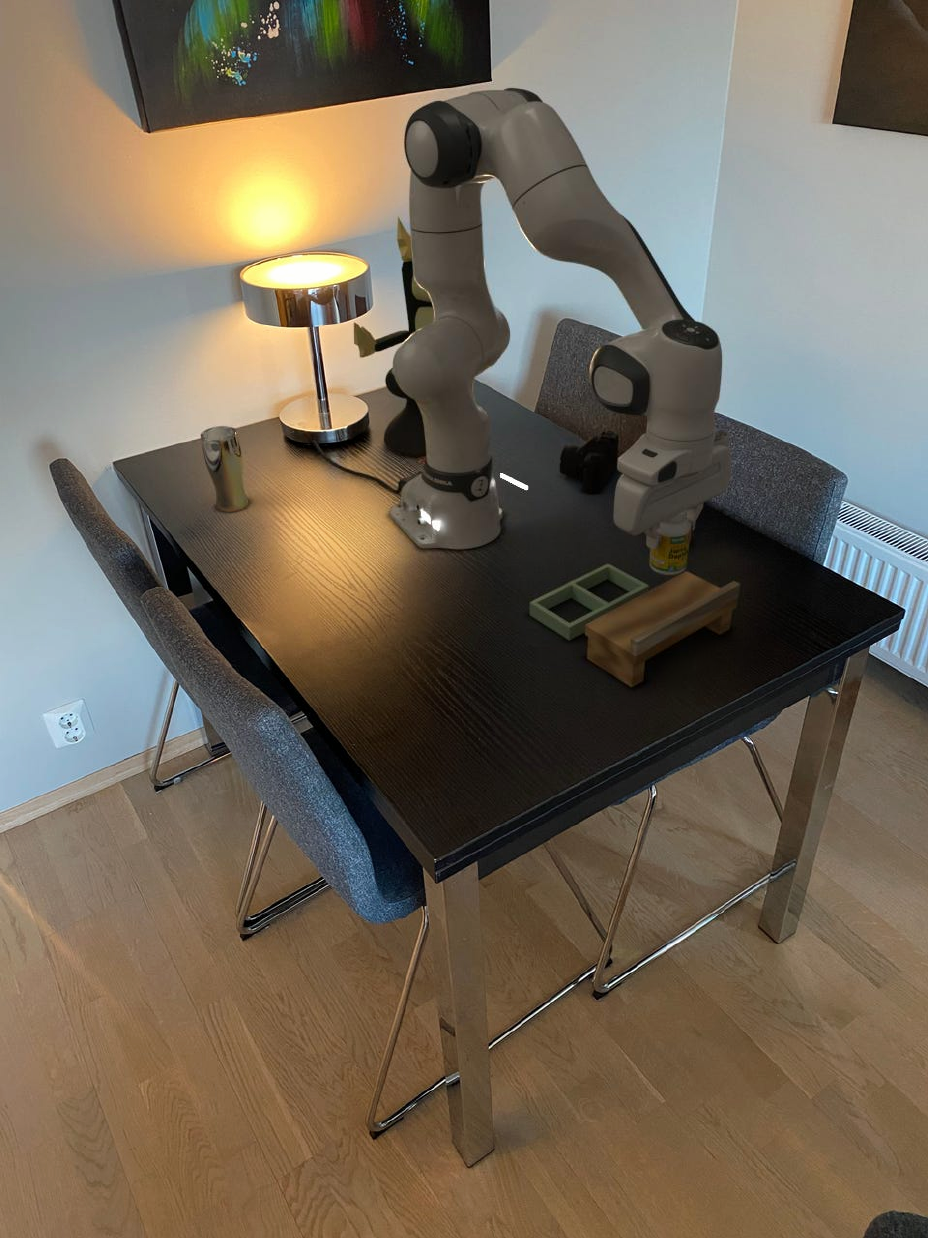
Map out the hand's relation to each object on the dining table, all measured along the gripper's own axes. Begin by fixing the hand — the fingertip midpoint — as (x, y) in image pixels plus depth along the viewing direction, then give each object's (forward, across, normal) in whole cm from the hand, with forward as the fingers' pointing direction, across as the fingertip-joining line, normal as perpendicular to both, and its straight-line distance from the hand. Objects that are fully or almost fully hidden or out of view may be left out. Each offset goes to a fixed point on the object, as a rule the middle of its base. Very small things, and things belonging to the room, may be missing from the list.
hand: (670, 538), depth 133 cm
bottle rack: (+18, +2, -13) cm, 22 cm away
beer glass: (+18, +29, -84) cm, 91 cm away
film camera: (+18, -30, -46) cm, 58 cm away
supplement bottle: (+5, 0, 0) cm, 5 cm away
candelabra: (+18, -17, -83) cm, 87 cm away
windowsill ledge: (+18, +1, +1) cm, 18 cm away
